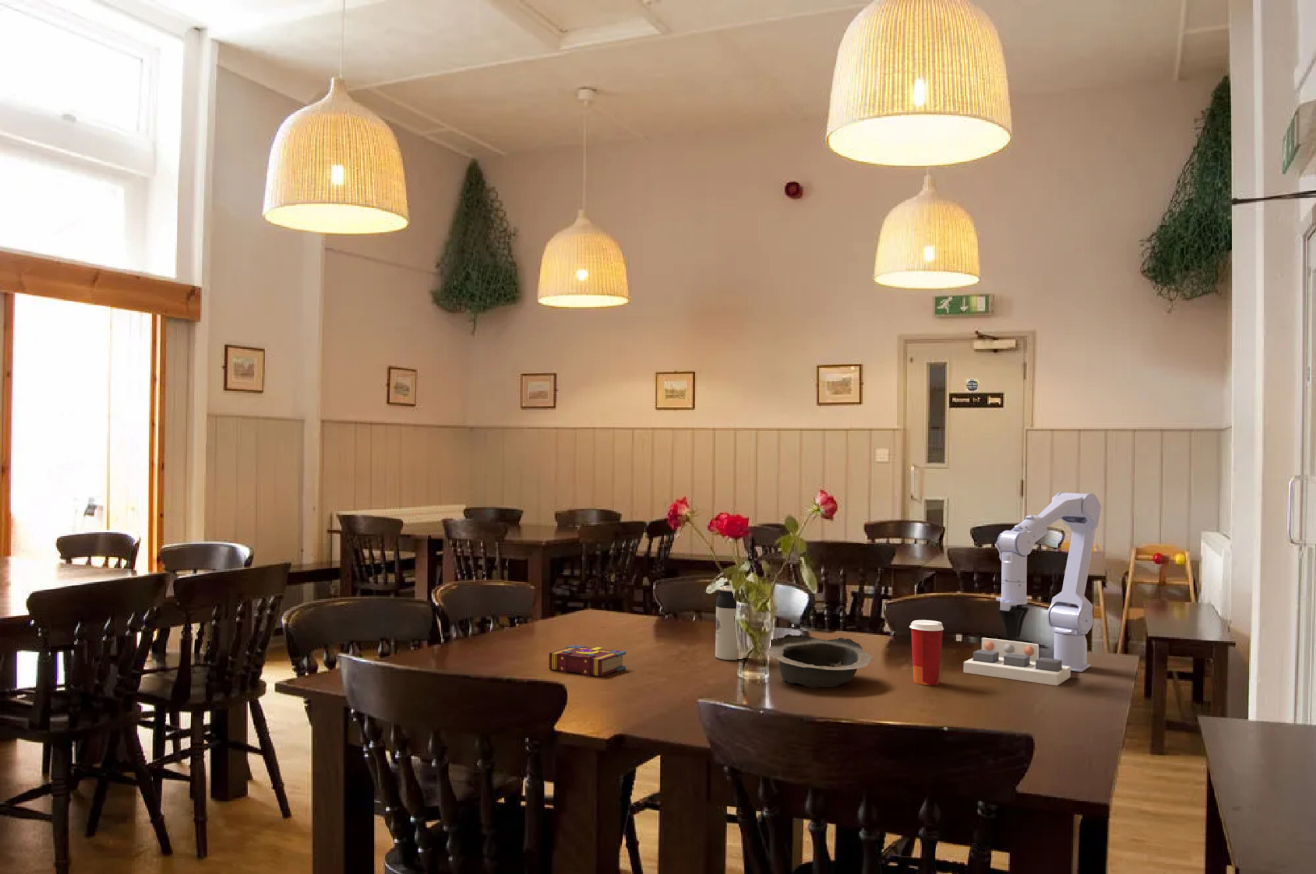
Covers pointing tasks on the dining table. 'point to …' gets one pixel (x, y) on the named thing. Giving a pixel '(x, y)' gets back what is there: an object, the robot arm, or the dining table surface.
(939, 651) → the paper cup
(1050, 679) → the button board
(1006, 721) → the dining table surface
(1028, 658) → the button middle
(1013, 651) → the card
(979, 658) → the button mug side
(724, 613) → the travel mug
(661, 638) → the dining table surface
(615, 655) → the decorative book
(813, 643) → the stone bowl
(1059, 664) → the button cup side
